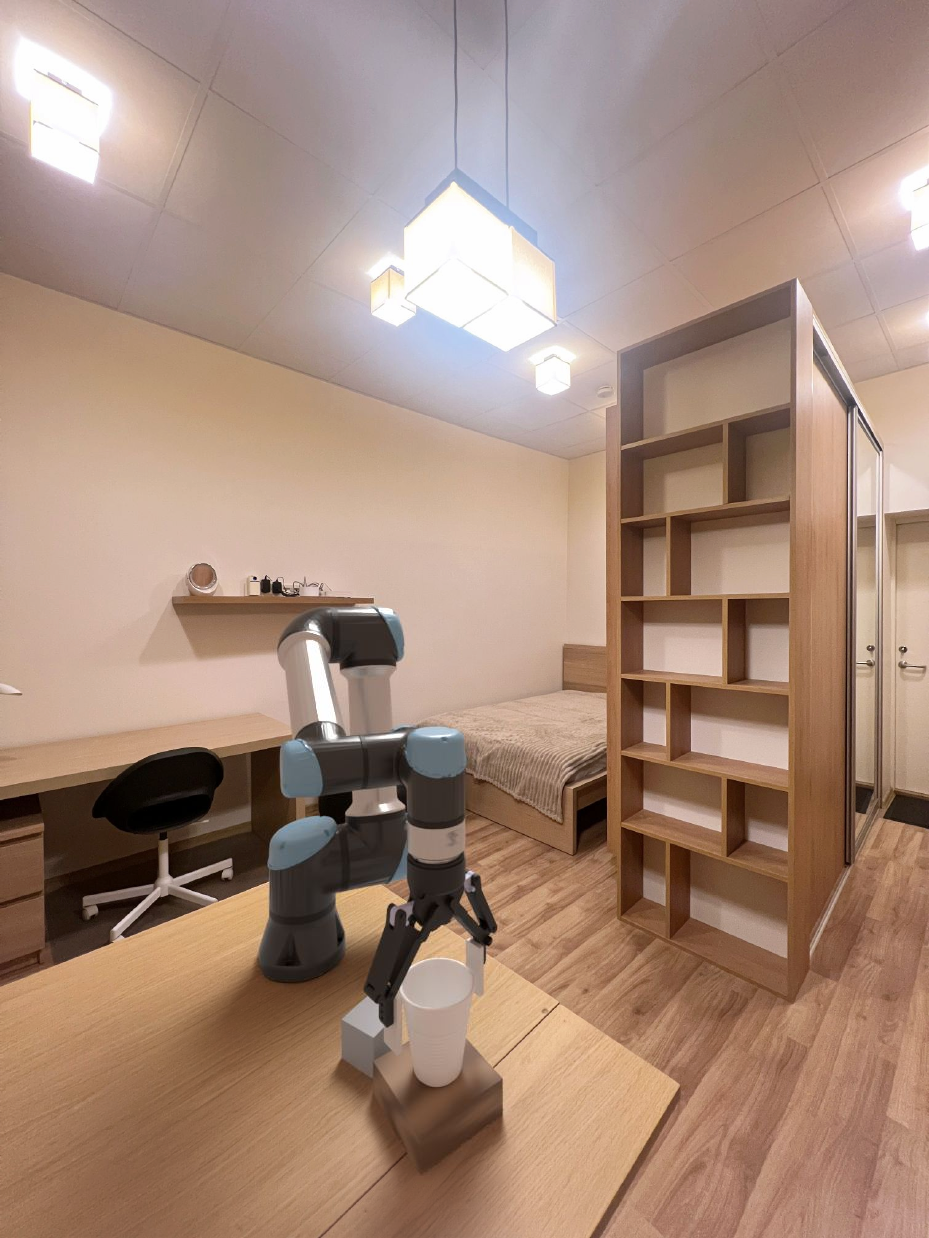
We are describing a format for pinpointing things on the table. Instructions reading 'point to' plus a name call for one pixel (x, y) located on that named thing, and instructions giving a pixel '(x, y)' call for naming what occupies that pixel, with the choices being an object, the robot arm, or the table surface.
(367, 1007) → the grey cube
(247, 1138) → the table surface
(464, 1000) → the cup
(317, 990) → the table surface
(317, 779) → the robot arm
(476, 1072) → the walnut block
